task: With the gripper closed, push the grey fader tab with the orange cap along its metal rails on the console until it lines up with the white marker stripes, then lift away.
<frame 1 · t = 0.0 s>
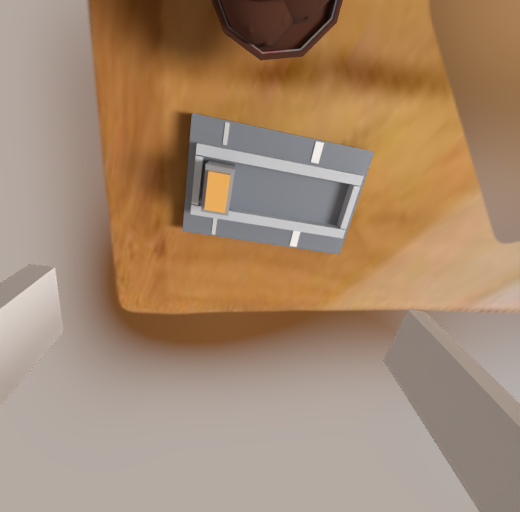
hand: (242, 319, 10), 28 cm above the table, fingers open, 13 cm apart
console: (273, 189, 36), on the table
fader tab: (218, 187, 31), point 5 cm above the table, slide at 0.0 cm
ice cream bowl: (265, 19, 29), on the table
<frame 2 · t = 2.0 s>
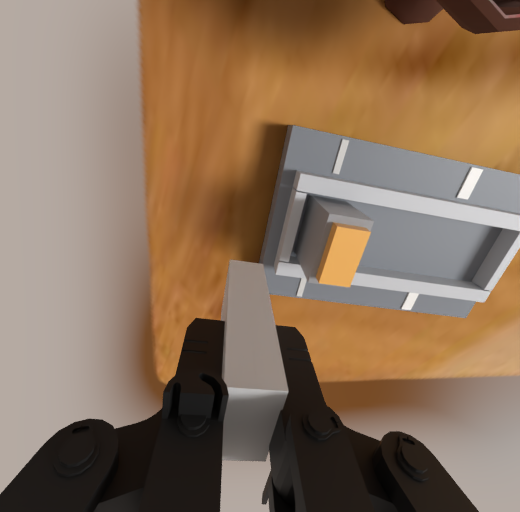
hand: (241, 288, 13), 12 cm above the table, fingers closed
console: (384, 231, 25), on the table
fader tab: (330, 241, 20), point 5 cm above the table, slide at 0.0 cm
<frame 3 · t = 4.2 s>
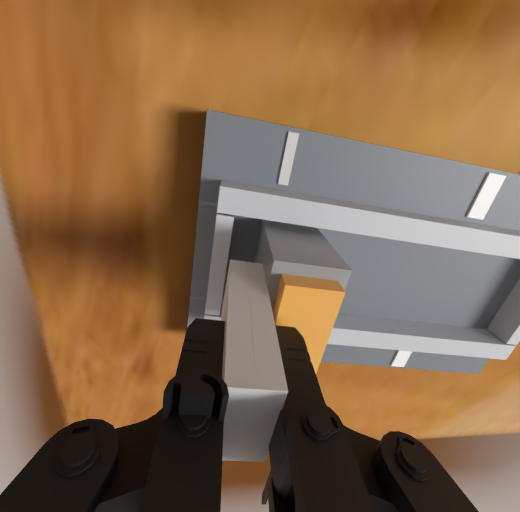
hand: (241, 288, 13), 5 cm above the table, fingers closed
console: (365, 262, 18), on the table
fader tab: (288, 292, 13), point 5 cm above the table, slide at 0.8 cm, touching gripper
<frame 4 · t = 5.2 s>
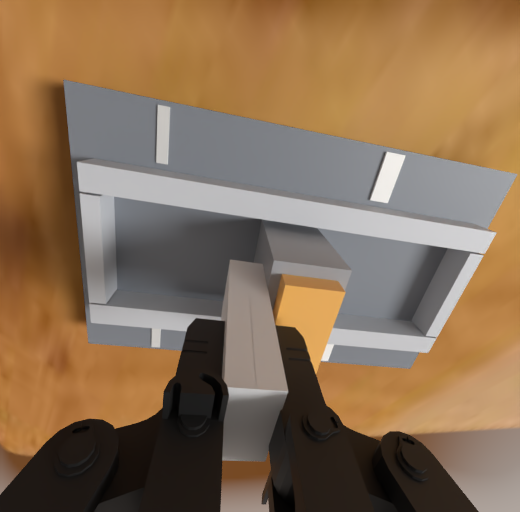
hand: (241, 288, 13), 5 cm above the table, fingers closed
console: (281, 251, 17), on the table
fader tab: (288, 292, 13), point 5 cm above the table, slide at 6.6 cm, touching gripper
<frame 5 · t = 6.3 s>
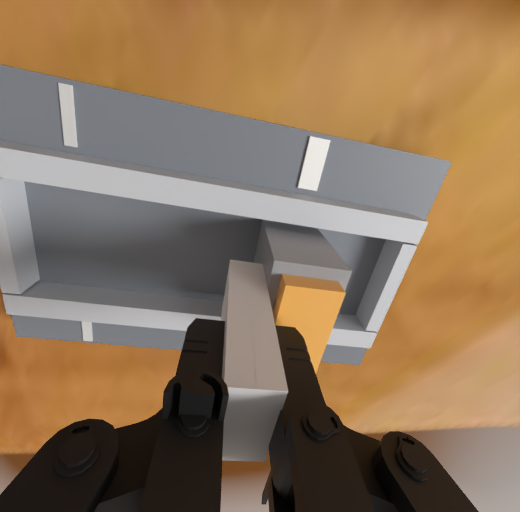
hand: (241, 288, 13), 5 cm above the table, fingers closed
console: (219, 242, 17), on the table
fader tab: (288, 292, 13), point 5 cm above the table, slide at 10.6 cm, touching gripper
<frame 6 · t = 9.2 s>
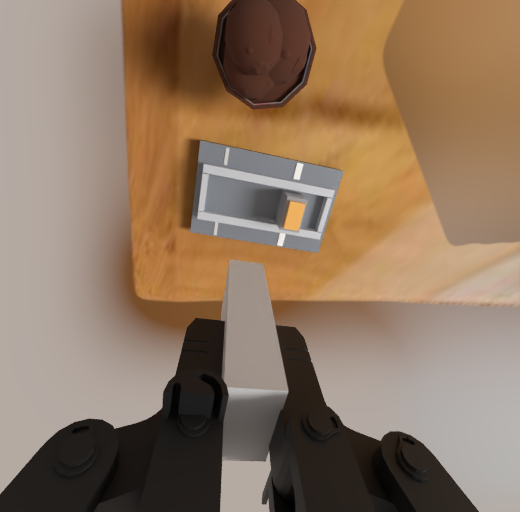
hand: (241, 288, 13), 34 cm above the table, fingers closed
console: (263, 199, 45), on the table
fader tab: (290, 211, 41), point 5 cm above the table, slide at 10.7 cm
ice cream bowl: (257, 70, 38), on the table
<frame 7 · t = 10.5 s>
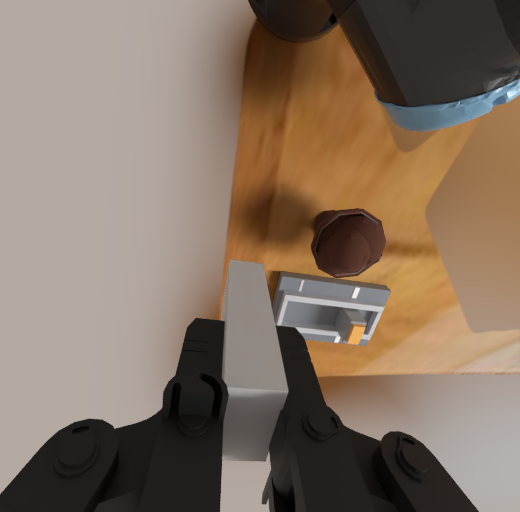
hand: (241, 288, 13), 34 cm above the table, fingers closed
console: (324, 307, 56), on the table
fader tab: (350, 325, 52), point 5 cm above the table, slide at 10.7 cm
ice cream bowl: (328, 224, 49), on the table
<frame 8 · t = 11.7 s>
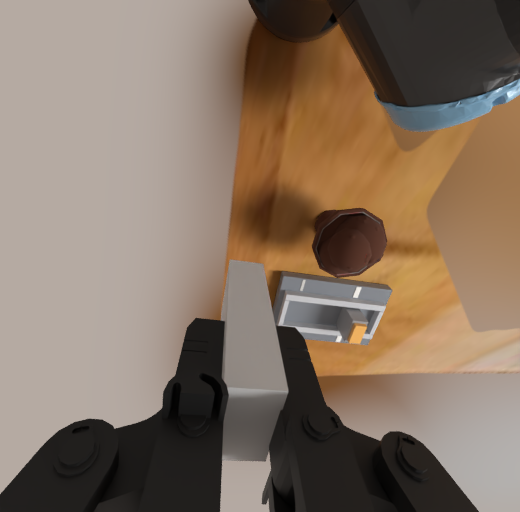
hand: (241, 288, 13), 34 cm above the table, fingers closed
console: (326, 307, 56), on the table
fader tab: (351, 324, 52), point 5 cm above the table, slide at 10.7 cm
ice cream bowl: (329, 224, 49), on the table
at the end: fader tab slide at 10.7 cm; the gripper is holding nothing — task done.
